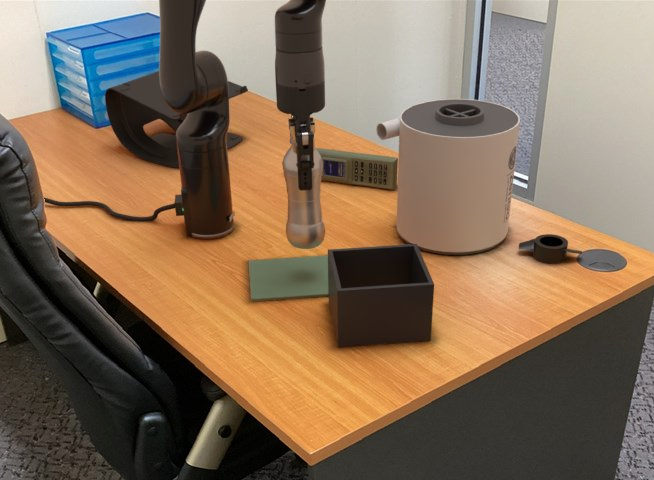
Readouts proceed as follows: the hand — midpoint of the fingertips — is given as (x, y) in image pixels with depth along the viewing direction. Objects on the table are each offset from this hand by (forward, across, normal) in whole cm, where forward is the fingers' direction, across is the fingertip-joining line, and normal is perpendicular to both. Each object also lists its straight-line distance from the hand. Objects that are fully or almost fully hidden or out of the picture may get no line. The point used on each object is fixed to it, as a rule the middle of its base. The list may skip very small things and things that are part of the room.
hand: (303, 180), depth 138 cm
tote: (+18, +16, +10) cm, 26 cm away
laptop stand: (+18, -70, -24) cm, 76 cm away
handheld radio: (+18, -42, +11) cm, 47 cm away
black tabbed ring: (+18, -2, +44) cm, 48 cm away
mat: (+18, 0, 0) cm, 18 cm away
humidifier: (+18, -15, +27) cm, 36 cm away
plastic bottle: (+12, 0, 0) cm, 12 cm away
